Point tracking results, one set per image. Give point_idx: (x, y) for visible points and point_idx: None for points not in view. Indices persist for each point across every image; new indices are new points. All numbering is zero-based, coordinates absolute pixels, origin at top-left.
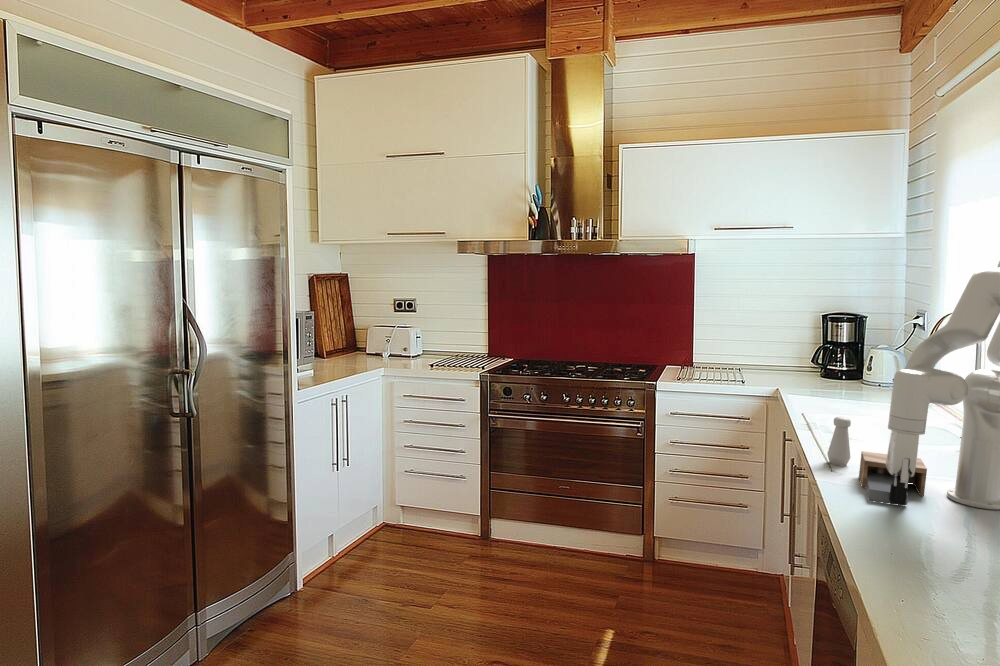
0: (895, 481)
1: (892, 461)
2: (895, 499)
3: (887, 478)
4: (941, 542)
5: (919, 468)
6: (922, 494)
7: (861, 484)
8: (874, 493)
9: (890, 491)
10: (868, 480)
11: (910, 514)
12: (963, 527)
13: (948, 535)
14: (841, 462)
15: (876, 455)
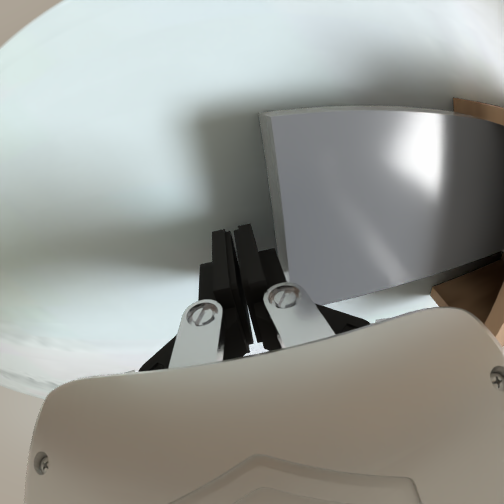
0: (177, 343)
1: (26, 493)
2: (200, 266)
3: (494, 208)
4: (24, 353)
5: None
6: (433, 294)
7: (475, 101)
8: (269, 146)
9: (244, 252)
10: (451, 120)
11: (174, 296)
12: None
13: (78, 369)
14: None
15: None
